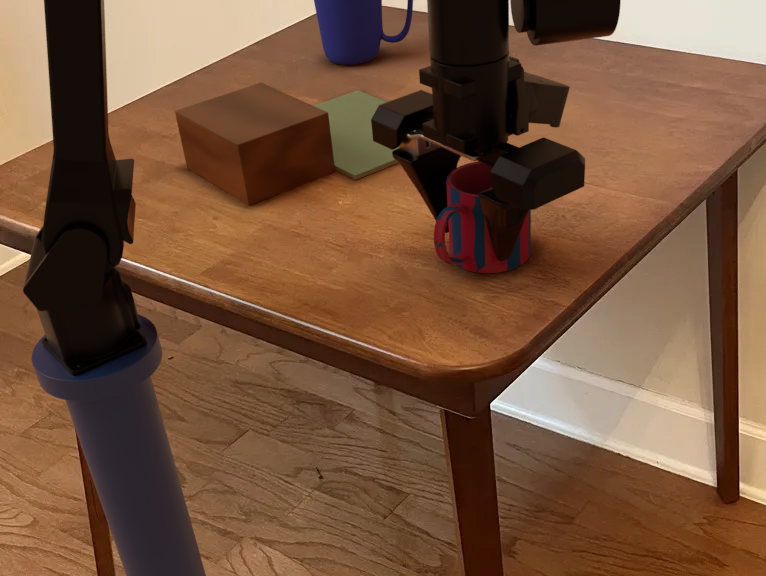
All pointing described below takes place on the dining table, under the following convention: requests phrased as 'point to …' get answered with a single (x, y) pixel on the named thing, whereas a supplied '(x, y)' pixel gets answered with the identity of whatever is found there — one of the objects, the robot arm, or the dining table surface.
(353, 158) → the mat
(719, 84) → the dining table surface
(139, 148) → the dining table surface
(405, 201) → the dining table surface
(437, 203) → the robot arm
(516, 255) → the cup
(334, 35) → the mug
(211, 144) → the step
